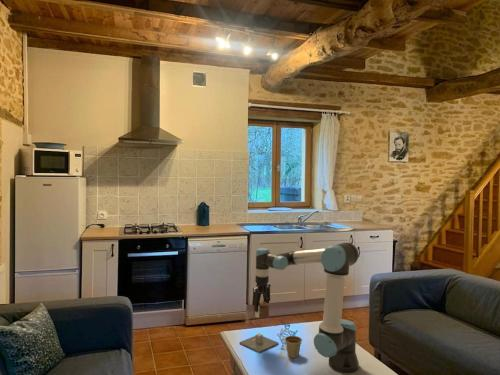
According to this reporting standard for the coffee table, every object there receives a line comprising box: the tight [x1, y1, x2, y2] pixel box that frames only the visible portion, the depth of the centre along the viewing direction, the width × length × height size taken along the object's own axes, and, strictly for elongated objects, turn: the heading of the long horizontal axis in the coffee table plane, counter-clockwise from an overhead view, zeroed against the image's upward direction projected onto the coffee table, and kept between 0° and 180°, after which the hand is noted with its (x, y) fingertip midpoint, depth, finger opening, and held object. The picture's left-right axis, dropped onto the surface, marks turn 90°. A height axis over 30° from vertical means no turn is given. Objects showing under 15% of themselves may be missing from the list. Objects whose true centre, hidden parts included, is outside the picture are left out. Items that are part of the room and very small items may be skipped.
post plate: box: [239, 333, 280, 354], centre depth 213 cm, size 16×16×6 cm
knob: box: [253, 299, 270, 320], centre depth 211 cm, size 6×6×8 cm
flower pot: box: [284, 335, 303, 358], centre depth 200 cm, size 9×9×9 cm
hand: (261, 315), depth 211 cm, fingers closed on knob, 6 cm apart
